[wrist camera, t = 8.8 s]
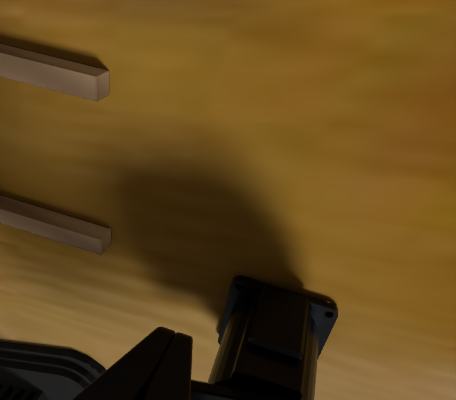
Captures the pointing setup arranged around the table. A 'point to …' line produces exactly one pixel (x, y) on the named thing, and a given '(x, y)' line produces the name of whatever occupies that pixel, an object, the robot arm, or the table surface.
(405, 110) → the table surface
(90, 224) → the brown u-shaped frame
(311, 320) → the robot arm
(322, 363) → the table surface
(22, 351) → the award
